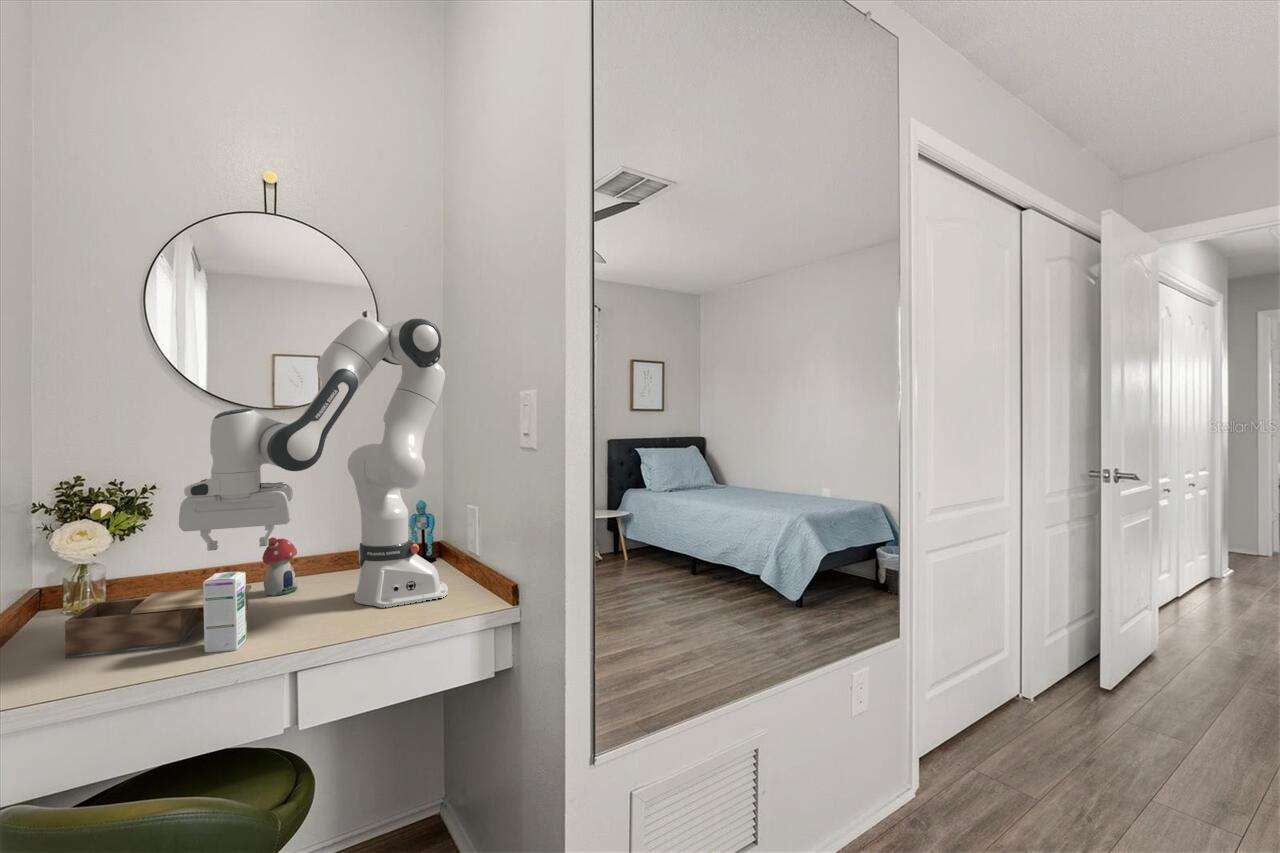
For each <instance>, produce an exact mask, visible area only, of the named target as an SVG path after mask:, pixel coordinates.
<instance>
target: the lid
mask: <svg viewBox="0 0 1280 853" xmlns="http://www.w3.org/2000/svg"><path fill="white" fill-rule="evenodd" d="M251 589H252V585H251V584H247V585H246V594H247V595H248V593H249V591H250V590H251ZM145 598H146V599H145V600H144V601H143V602H141V603H140V604H139V605H138V606H137V607H135V608H134V609H133V610H132V611H131V614H136V613H146V612H157V611H167V610H178V609H188V608H199V607H203V588H198V589H188V590H187V589H185V590H176V591H175V590H174V591H162V592H153V593H151V595H149V596H148V597H145Z"/></svg>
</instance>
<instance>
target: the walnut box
mask: <svg viewBox="0 0 1280 853" xmlns="http://www.w3.org/2000/svg"><path fill="white" fill-rule="evenodd" d="M146 598H147V597H141V598H130V599H118V600H116V599H115V600H106V601H97V602H96V601H94V602H92V603H90V604H89V605H88V606H86V607H85V608H83V609H82V610H80V611H79V612H77V613H76V614H74V615H73V616H71V617H70V618H68V619H67V620H65V621H64V646H65V648H64V650H65V652H64V654H65V655H64V656H65V659H69V657H71V658H78V656H79V657H86V655H88V656H95V654H97V655H104V654H113V653H122V652H130V651H140V650H147V649H149V648H150V649H156V648H157V649H158V648H165V647H173V646H174V647H175V645H176V646H181V645H182V644H183V643H184V642H185V641H186V639H188V637H189V636H190V635H191V633H192V632H193V631H195V629H196V628H197V627H198V625H199V622H198V608H188V609H178V610H167V611H157V612H146V613H136V614H131V611H132V610H133V609H134V608H135V607H137V606H138V605H139V604H140V603H141V602H143V601H144V600H145V599H146ZM150 649H149V650H150Z"/></svg>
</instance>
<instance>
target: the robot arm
mask: <svg viewBox="0 0 1280 853" xmlns="http://www.w3.org/2000/svg"><path fill="white" fill-rule="evenodd" d="M441 348H442V335H441V332H440V330H439V327H437V325H436V324H434V323H433V322H431V321H430V320H427V319H423V318H411V319H406V320H401V321H398V322H396V323H394V324H390V325H386V326H383V324H382V323H380V322H379V321H377V320H376V319H375V320H374V319H372V318H369V317H360V318H358V319H356V320H355V321H353V322H352V323H350V324H349V325H348V326H347V327H346V328H345V329H344V330H343V331H341V332H340V334H338V336H337V337H335V339H333V341H332V342H331V343H330V344H329V345H328V347H327V348H326V349H325V350H324V352H323V353H322V355H321V356H320V358H319V360H318V362H317V364H316V370H317V371H316V372H317V375H318V377H319V379H320V381H321V386H320V388H319V391H318V393H316V395H315V396H314V397H313V399H312V401H311V402H310V404H308V405H307V407H306V409H305V410H304V412H303V413H302V415H301V416H300V417H299V418H297V419H296V420H294V421H293V422H290V423H283V422H281V421H278V420H275V419H272V418H269V417H267V416H264V415H262V414H261V413H259V412H257V411H255V410H254V409H253V408H252V409H251V408H238V409H231V410H226V411H222V412H220V413H219V412H218V413H217V414H216V415H215V416H214V417H213V419H212V421H211V422H212V423H211V427H210V435H209V437H210V439H209V440H210V441H209V443H210V444H209V446H210V447H209V448H210V449H209V450H210V454H211V455H210V456H212V466H211V468H210V471H211V472H210V474H211V477H210V478H205V479H203V480H202V479H201V480H200V481H197V482H194V483H191V484H189V485H187V486H186V487H184V492H183V493H184V496H185V497H186V498H185V499H184V498H183V500H182V502H181V503H180V508H179V516H178V527H179V529H180V530H181V531H182V532H196V531H197V532H198V531H200V534H199V535H200V537H201V538H202V539H203V541H204V542H205V543H206V546H207V547H206V549H207V551H208V552H210V551H217V550H218V548H219V546H218V544H219V543H218V540H213V539H212V537H211V536H210V534H211V532H212V530H223V529H224V530H226V529H238V528H251V527H255V528H256V527H264V531H267V532H266V533H265V535H264V536H260V537H259V540H258V542H259V545H258V546H259V547H268V546H269V545H268V544H269V539H270V538H269V537H270V536H271V534H272V532H273V531H274V529H275V526H280V525H287V524H288V523H290V522H291V520H292V518H293V513H292V512H293V511H292V510H293V509H292V506H291V501H292V499H293V489H292V487H291V486H290V485H289V484H287V483H285V482H281V481H280V482H262V479H261V478H262V476H261V473H262V472H261V466H262V465H267V464H269V465H272V466H275V467H279V468H281V469H283V470H284V471H285V470H286V471H291V472H301V471H305V470H308V469H309V468H311V467H313V466H314V465H315V464H316V463H317V462H318V461H319V460H320V458H321V456H322V454H323V451H324V447H325V444H326V443H325V442H326V439H327V438H328V435H329V433H330V431H331V429H332V428H333V427H334V425H335V423H336V422H337V420H338V419H339V418H340V416H341V414H342V413H343V412H344V410H345V409H346V407H347V406H348V404H349V403H350V401H351V400H352V398H353V396H354V394H355V393H356V392H357V390H358V389H359V388H360V387H361V386H362V384H363V383H364V382H365V380H366V379H368V377H369V376H370V374H371V373H372V372H373V371H374V370H375V368H376V366H377V365H378V363H380V362H381V361H383V362H386V363H388V364H391V365H394V366H400V365H401V376H400V380H399V381H398V384H397V386H396V387H395V391H394V392H393V394H392V396H391V399H390V401H389V403H388V404H387V407H386V410H385V412H384V414H383V418H382V419H383V423H384V432H383V438H382V441H381V443H380V444H379V443H369V444H365V445H363V446H360V447H357V448H355V449H354V450H353V451H352V452H351V453H350V455H349V457H348V460H347V471H348V472H349V475H351V477H352V479H353V482H354V485H355V490H356V494H357V500H358V503H359V508H360V518H361V519H360V520H361V522H360V523H361V524H360V525H361V528H360V529H361V530H360V531H361V542H359V543H360V544H359V549H358V563H359V566H360V567H359V569H360V570H359V578H358V583H357V586H356V587H357V588H356V591H355V595H354V598H353V600H354V602H355V603H358V604H361V605H366V606H374V607H377V608H382V609H384V608H385V607H386V608H391V607H392V606H393V607H398V606H397V605H399V606H403V605H404V604H405V605H409V604H410V603H411V604H416V603H415V602H417V603H422V601H423V602H427V601H426V600H430V601H433V600H432V599H436V600H439V599H438V598H442V599H444V598H445V596H446V595H448V594H449V588H448V585H447V584H446V583H445V582H444V581H441V580H440V576H439V575H440V574H439V572H438V570H437V568H436V566H435V565H433V563H431V562H429V561H428V560H427V559H424V558H423V557H421V556H420V555H419V554H417V553H418V552H419V550H420V546H419V544H417V543H416V542H415V541H414V540H411V539H409V509H408V507H407V506H406V504H405V502H404V500H403V498H402V494H401V491H403V490H408V489H411V488H412V489H413V488H415V487H416V486H417V485H419V484H420V482H421V481H422V480H423V478H424V476H425V474H426V473H425V472H426V464H425V460H424V458H423V448H424V442H425V436H426V433H427V430H428V427H429V425H430V423H431V420H432V418H433V415H434V413H435V411H436V409H437V407H438V404H439V402H440V399H441V395H442V392H443V389H444V385H445V380H446V372H445V370H444V368H443V367H442V365H440V364H439V363H438V361H440V359H441ZM443 597H444V598H443ZM446 597H447V596H446ZM411 604H410V605H411ZM393 607H392V608H393ZM386 608H385V609H386Z"/></svg>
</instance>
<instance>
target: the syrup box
mask: <svg viewBox="0 0 1280 853" xmlns="http://www.w3.org/2000/svg"><path fill="white" fill-rule="evenodd" d="M246 577H247V576H246V572H245V571H225V572H216V573H214V574H213V575H212V576H210V577H208V578H207V579H206V580H204V581H202V589H203V609H204V622H203V632H204V633H203V634H204V635H203V637H204V638H203V641H204V644H203V645H204V653H220V652H221V653H223V652H231V651H237V650H239V648H240V647H241V646H242V645H243V644H244V643H245V642H246V641H247V639H248V629H247V628H248V627H247V626H248V625H247V624H248V622H247V611H246V584H247V583H246V581H247V579H246Z"/></svg>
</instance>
